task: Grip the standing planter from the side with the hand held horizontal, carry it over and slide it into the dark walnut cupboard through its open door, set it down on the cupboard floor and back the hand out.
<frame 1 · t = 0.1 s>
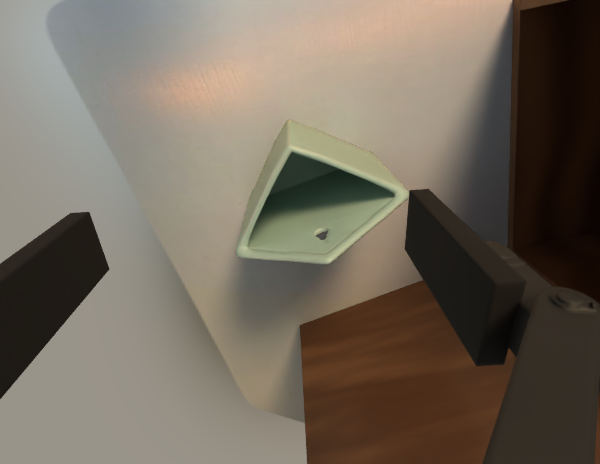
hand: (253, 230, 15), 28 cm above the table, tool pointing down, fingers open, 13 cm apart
planter: (300, 152, 42), on the table
cupboard door: (444, 393, 39), point 15 cm above the table, hinge at 100.0°
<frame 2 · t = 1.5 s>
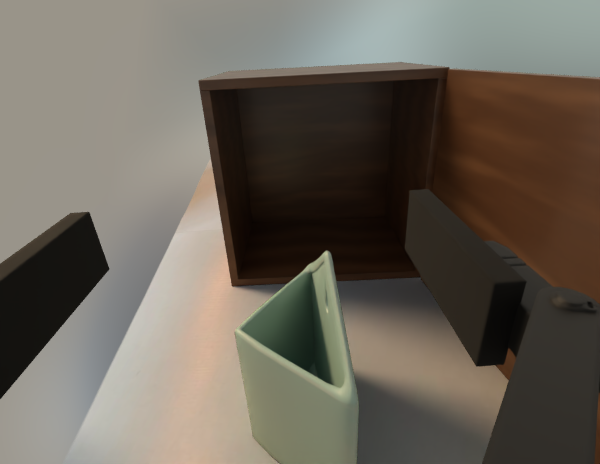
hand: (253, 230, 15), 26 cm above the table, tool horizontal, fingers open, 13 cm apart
planter: (293, 431, 35), on the table
cupboard: (321, 247, 66), on the table
cupboard door: (540, 235, 36), point 15 cm above the table, hinge at 100.0°
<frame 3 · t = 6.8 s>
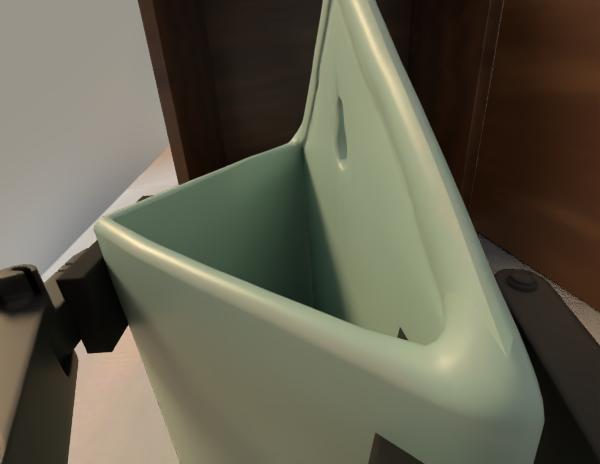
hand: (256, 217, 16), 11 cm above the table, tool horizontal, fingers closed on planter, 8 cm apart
cupboard: (320, 196, 49), on the table
when the fingers open (12 cm above the table, at t = 18.4 s): planter stays where it is, resting on cupboard.
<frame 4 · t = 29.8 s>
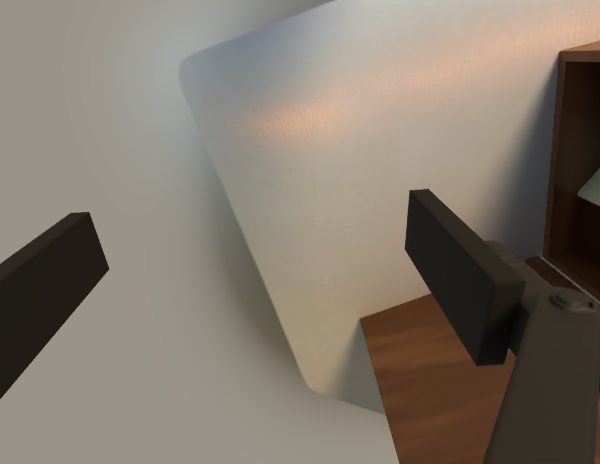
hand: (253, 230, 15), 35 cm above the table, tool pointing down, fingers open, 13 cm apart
cupboard door: (496, 374, 47), point 15 cm above the table, hinge at 100.0°
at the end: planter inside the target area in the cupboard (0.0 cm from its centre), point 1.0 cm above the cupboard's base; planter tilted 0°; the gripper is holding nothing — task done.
